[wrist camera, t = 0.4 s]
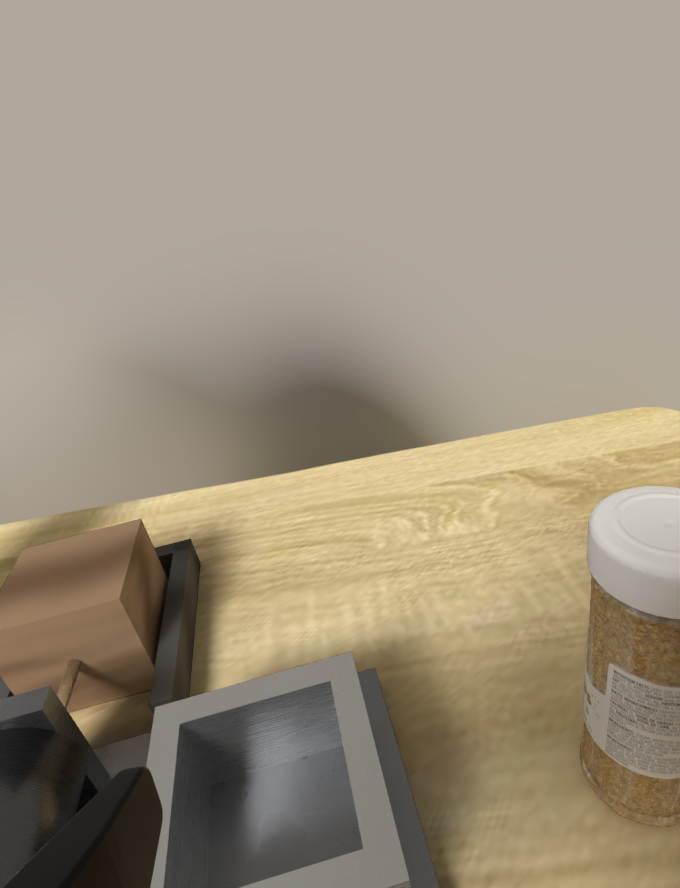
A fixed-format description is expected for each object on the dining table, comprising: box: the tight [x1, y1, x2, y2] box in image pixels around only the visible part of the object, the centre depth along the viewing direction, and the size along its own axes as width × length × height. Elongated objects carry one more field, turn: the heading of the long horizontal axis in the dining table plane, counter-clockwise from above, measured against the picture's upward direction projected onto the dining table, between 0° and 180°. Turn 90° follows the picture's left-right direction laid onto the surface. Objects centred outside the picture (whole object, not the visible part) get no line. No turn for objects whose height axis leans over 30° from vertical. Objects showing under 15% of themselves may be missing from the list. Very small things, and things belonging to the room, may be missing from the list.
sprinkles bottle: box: [580, 486, 680, 826], centre depth 20 cm, size 5×5×14 cm
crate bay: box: [0, 519, 200, 714], centre depth 33 cm, size 14×11×7 cm
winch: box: [0, 652, 439, 888], centre depth 23 cm, size 19×19×8 cm
